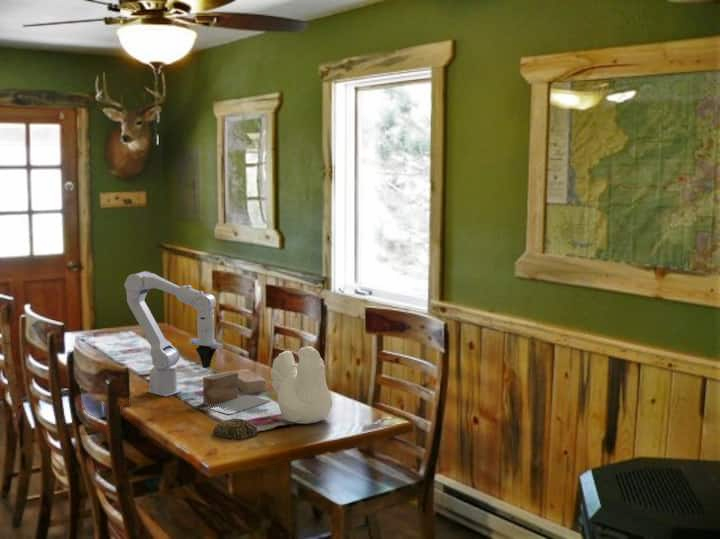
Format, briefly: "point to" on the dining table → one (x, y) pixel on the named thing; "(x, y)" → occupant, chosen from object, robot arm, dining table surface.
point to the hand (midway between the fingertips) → (206, 367)
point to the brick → (250, 381)
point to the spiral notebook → (241, 403)
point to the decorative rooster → (301, 386)
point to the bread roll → (235, 429)
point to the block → (220, 387)
